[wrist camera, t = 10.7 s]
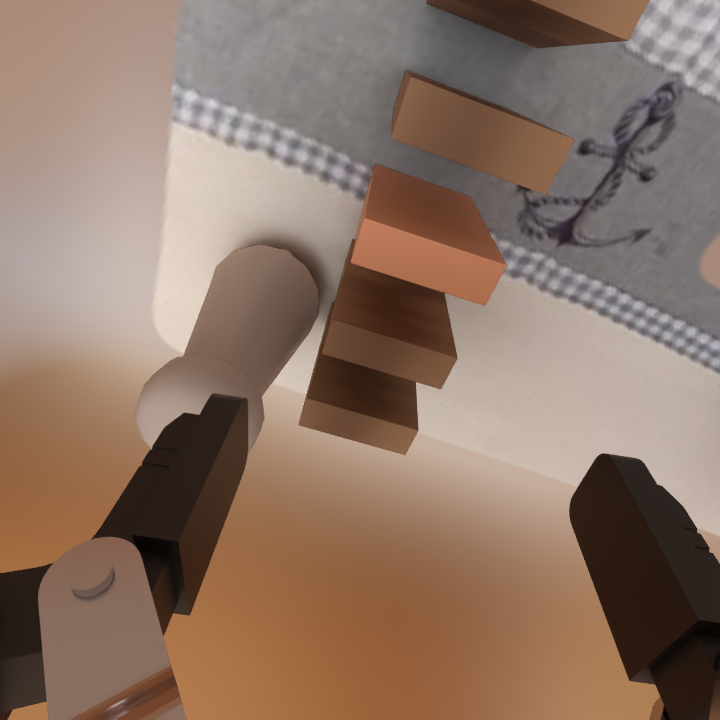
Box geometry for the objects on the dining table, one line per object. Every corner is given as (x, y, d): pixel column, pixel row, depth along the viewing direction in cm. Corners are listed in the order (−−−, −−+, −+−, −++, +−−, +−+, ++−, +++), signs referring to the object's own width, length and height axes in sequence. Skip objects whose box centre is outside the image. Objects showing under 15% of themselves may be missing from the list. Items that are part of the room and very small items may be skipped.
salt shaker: (302, 339, 28) (242, 516, 17) (213, 300, 27) (90, 464, 16) (341, 260, 25) (298, 415, 14) (243, 212, 24) (114, 341, 13)
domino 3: (470, 196, 22) (506, 265, 15) (457, 226, 23) (485, 305, 16) (375, 163, 22) (364, 218, 14) (365, 196, 23) (350, 262, 15)
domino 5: (412, 327, 27) (418, 430, 19) (403, 348, 28) (405, 454, 20) (332, 302, 26) (306, 398, 19) (325, 324, 27) (298, 425, 20)
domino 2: (509, 109, 20) (575, 139, 13) (493, 146, 21) (545, 194, 14) (405, 69, 20) (410, 76, 12) (393, 109, 21) (390, 138, 13)
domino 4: (439, 267, 25) (457, 358, 17) (428, 292, 26) (440, 389, 18) (352, 238, 24) (332, 319, 17) (344, 265, 25) (321, 353, 17)
